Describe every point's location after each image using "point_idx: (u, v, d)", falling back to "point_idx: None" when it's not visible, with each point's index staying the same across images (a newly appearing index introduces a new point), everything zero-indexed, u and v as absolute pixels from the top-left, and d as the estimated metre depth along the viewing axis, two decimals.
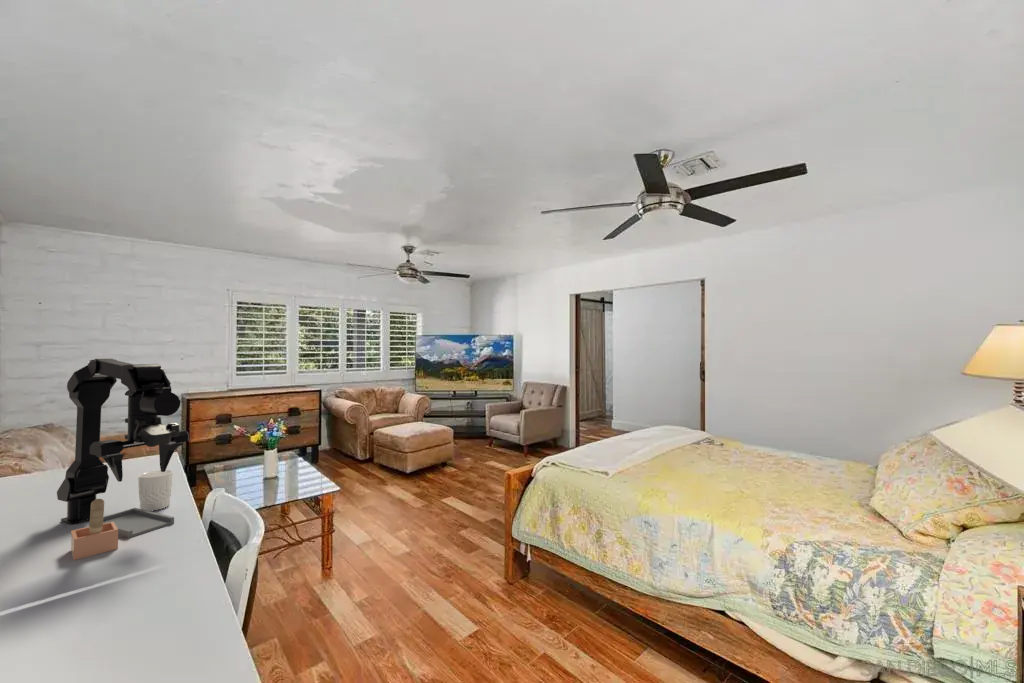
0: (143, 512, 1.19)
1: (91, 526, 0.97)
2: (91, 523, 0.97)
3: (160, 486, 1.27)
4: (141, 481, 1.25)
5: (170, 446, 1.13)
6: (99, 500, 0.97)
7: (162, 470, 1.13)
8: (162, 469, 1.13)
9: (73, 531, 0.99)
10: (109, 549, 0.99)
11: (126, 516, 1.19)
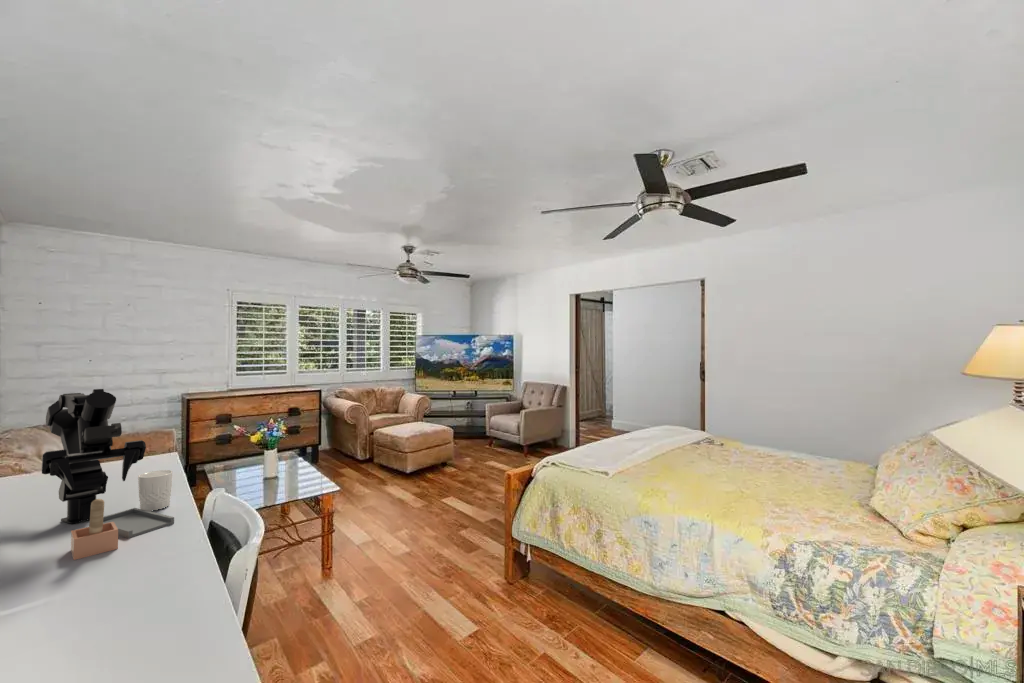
0: (143, 512, 1.19)
1: (91, 526, 0.97)
2: (91, 523, 0.97)
3: (160, 486, 1.27)
4: (141, 481, 1.25)
5: (125, 453, 1.12)
6: (99, 500, 0.97)
7: (123, 478, 1.10)
8: (123, 477, 1.10)
9: (73, 531, 0.99)
10: (109, 549, 0.99)
11: (126, 516, 1.19)
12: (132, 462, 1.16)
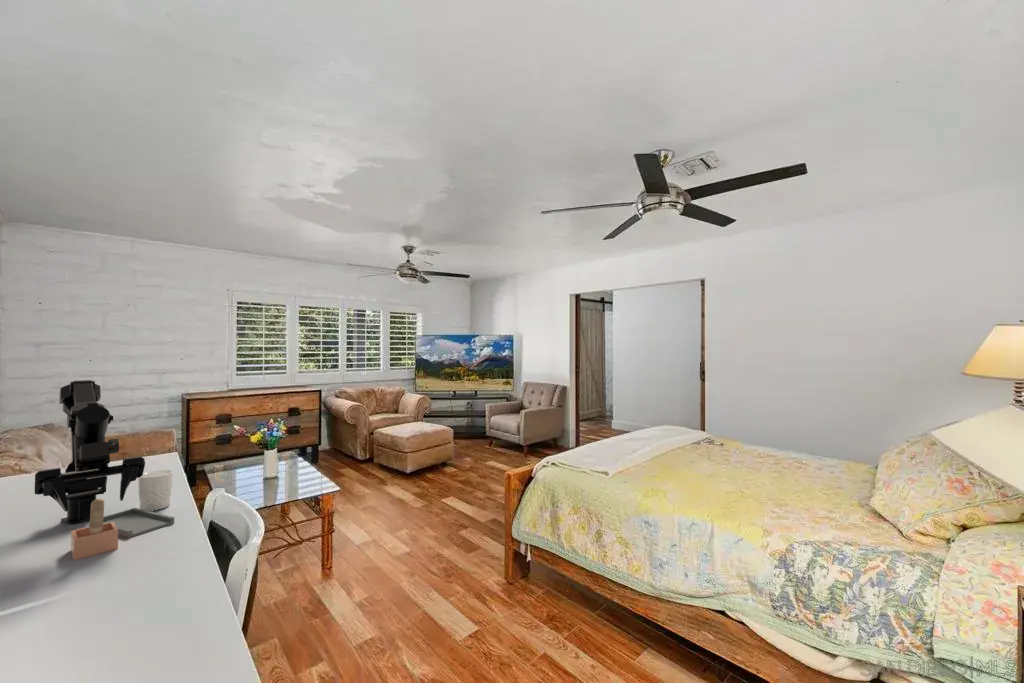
0: (143, 512, 1.19)
1: (91, 526, 0.97)
2: (91, 523, 0.97)
3: (160, 486, 1.27)
4: (141, 481, 1.25)
5: (122, 470, 1.06)
6: (99, 500, 0.97)
7: (120, 498, 1.04)
8: (120, 497, 1.04)
9: (73, 531, 0.99)
10: (109, 549, 0.99)
11: (126, 516, 1.19)
12: (131, 480, 1.10)
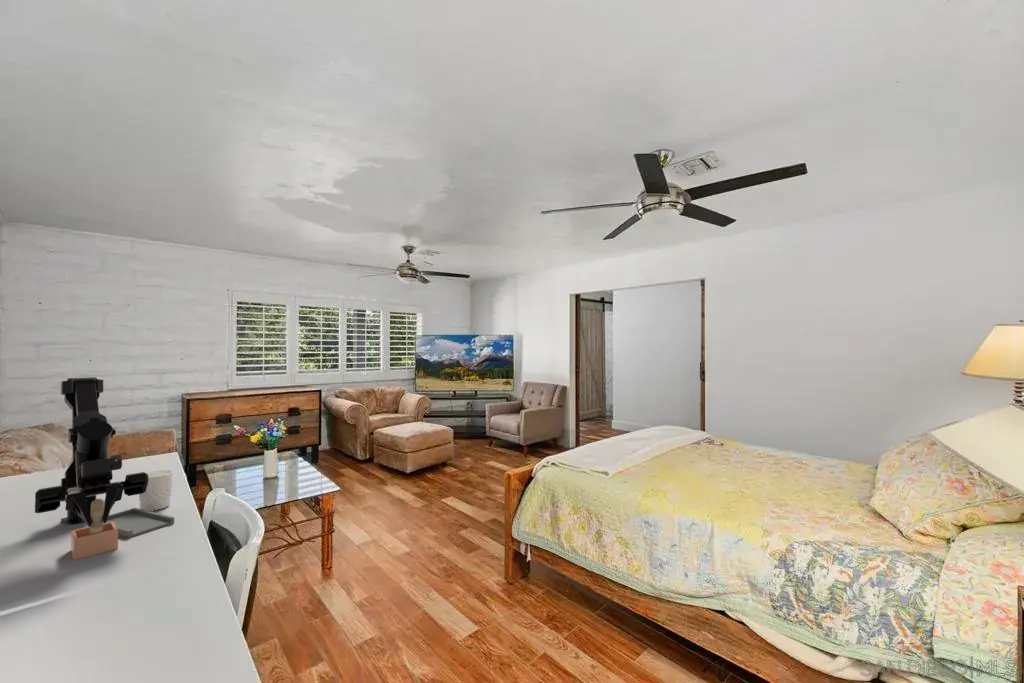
0: (143, 512, 1.19)
1: (91, 526, 0.97)
2: (91, 523, 0.97)
3: (160, 486, 1.27)
4: None
5: (106, 491, 1.01)
6: (99, 500, 0.97)
7: (103, 520, 0.98)
8: (103, 519, 0.98)
9: (73, 531, 0.99)
10: (109, 549, 0.99)
11: (126, 516, 1.19)
12: (115, 500, 1.04)
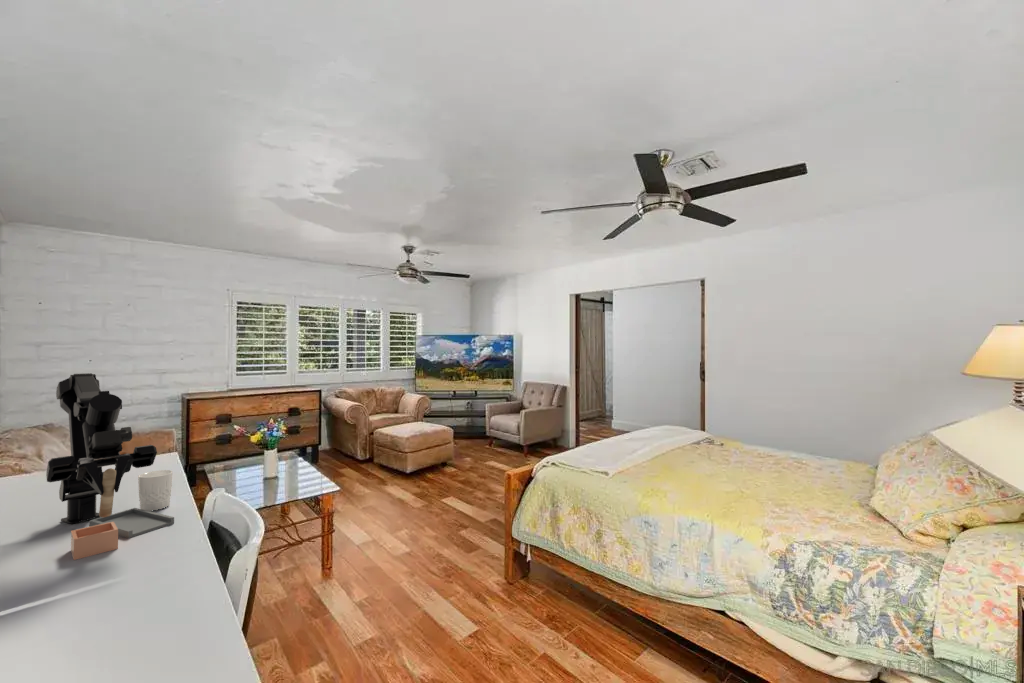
0: (143, 512, 1.19)
1: (103, 495, 1.00)
2: None
3: (160, 486, 1.27)
4: (141, 481, 1.25)
5: (117, 461, 1.04)
6: (111, 469, 1.00)
7: (115, 489, 1.01)
8: (115, 488, 1.01)
9: (73, 531, 0.99)
10: (109, 549, 0.99)
11: (126, 516, 1.19)
12: (124, 471, 1.07)
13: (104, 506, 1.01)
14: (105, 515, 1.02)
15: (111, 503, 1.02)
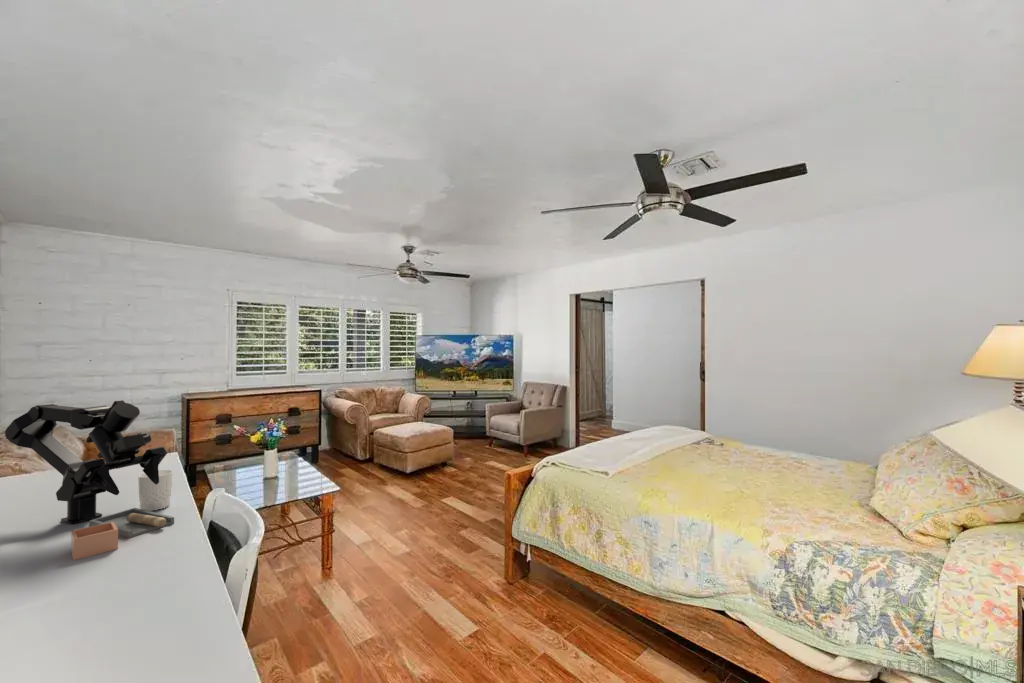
0: (143, 512, 1.19)
1: (143, 523, 1.12)
2: (145, 524, 1.12)
3: (160, 486, 1.27)
4: (141, 481, 1.25)
5: (151, 459, 1.20)
6: (164, 523, 1.12)
7: (156, 482, 1.19)
8: (155, 481, 1.19)
9: (73, 531, 0.99)
10: (109, 549, 0.99)
11: (126, 516, 1.19)
12: None
13: None
14: None
15: None
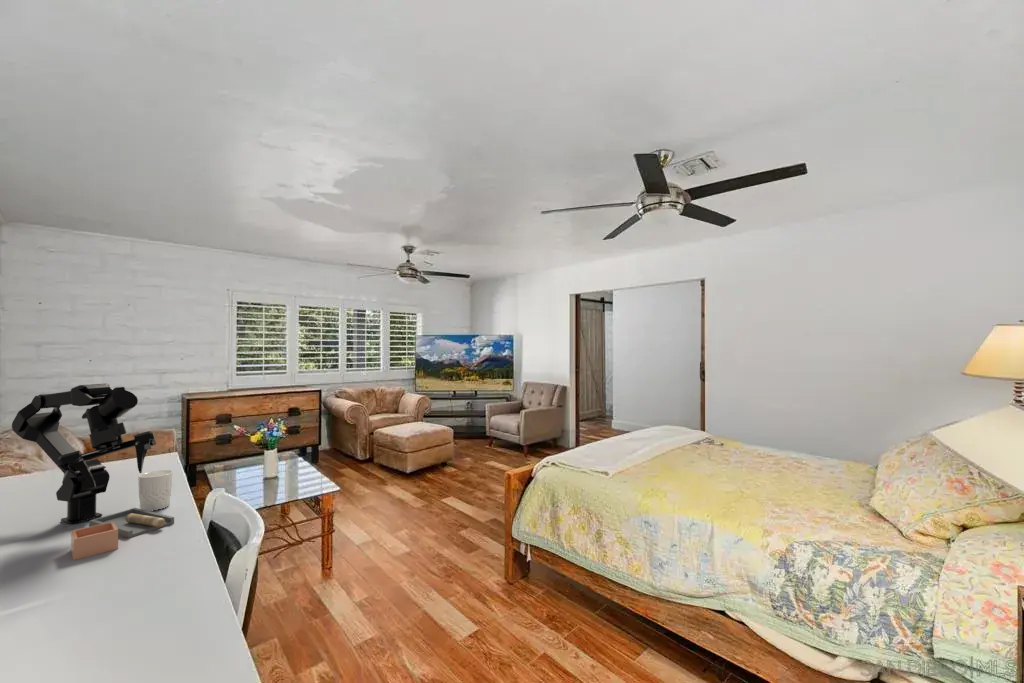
0: (143, 512, 1.19)
1: (142, 524, 1.12)
2: (144, 524, 1.12)
3: (160, 486, 1.27)
4: (141, 481, 1.25)
5: (135, 447, 1.18)
6: (163, 523, 1.11)
7: (139, 471, 1.18)
8: None
9: (73, 531, 0.99)
10: (109, 549, 0.99)
11: None
12: (146, 449, 1.22)
13: None
14: None
15: None
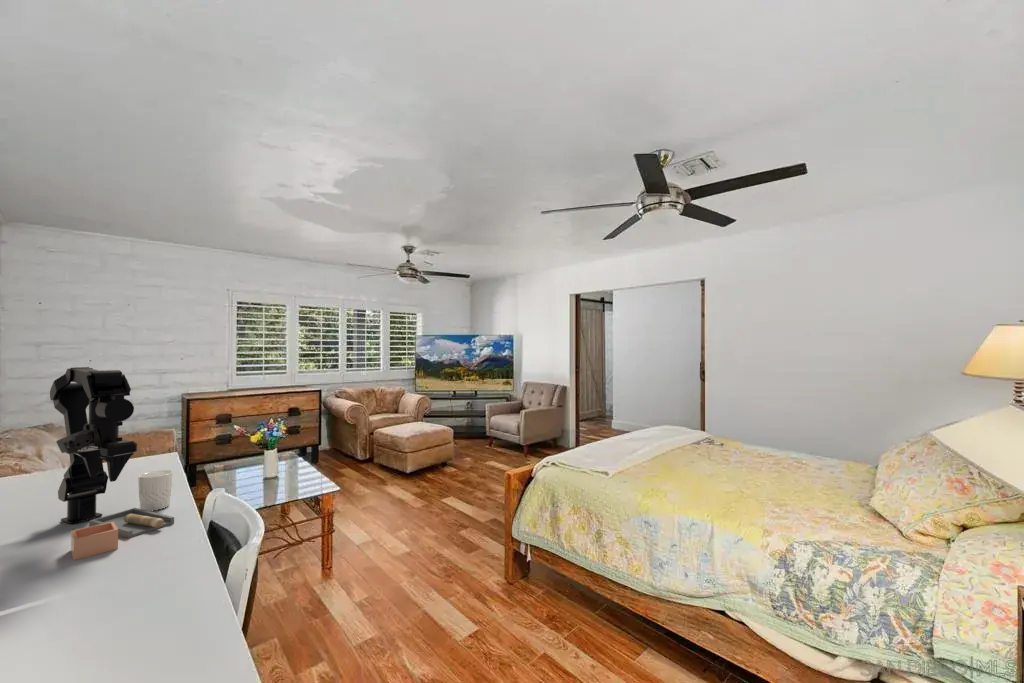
0: (143, 512, 1.19)
1: None
2: (144, 525, 1.12)
3: (160, 486, 1.27)
4: (141, 481, 1.25)
5: None
6: (162, 523, 1.11)
7: None
8: None
9: (73, 531, 0.99)
10: (109, 549, 0.99)
11: None
12: (129, 454, 1.12)
13: None
14: None
15: None
